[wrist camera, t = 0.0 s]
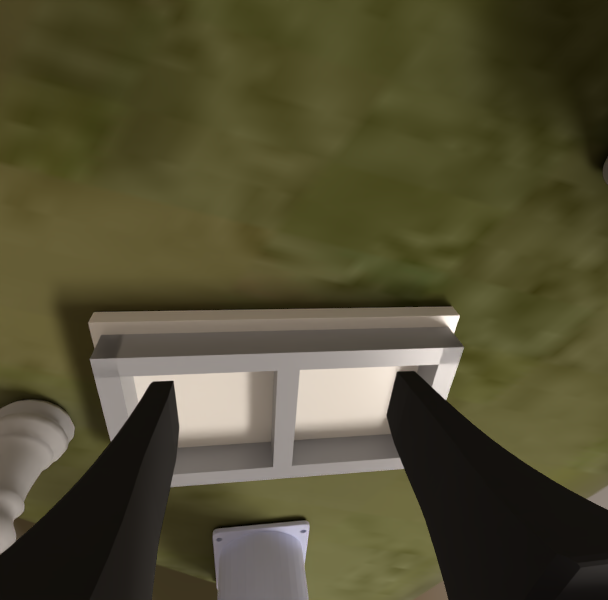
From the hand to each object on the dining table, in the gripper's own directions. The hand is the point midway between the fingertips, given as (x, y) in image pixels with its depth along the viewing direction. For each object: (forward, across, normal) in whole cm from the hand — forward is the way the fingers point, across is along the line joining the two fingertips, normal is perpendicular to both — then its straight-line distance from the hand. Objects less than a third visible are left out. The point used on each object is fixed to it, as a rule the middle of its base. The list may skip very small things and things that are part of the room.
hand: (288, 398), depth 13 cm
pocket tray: (+10, -1, +9) cm, 14 cm away
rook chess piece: (+10, +14, +11) cm, 21 cm away
